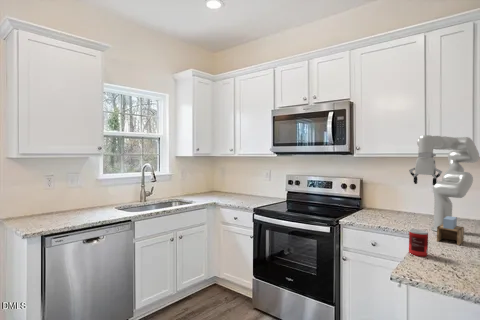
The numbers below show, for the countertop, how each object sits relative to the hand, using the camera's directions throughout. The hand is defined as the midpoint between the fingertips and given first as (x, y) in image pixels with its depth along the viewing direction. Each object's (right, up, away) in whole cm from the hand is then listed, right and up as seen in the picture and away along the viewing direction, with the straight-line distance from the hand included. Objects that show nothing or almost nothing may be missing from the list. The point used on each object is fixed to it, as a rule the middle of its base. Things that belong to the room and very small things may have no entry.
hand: (424, 184), depth 179 cm
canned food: (-27, -30, -39) cm, 56 cm away
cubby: (+6, -31, -14) cm, 34 cm away
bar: (+6, -23, -14) cm, 27 cm away
